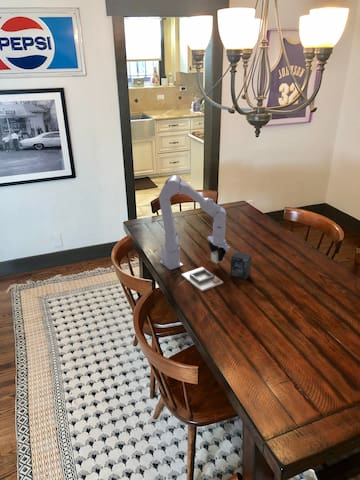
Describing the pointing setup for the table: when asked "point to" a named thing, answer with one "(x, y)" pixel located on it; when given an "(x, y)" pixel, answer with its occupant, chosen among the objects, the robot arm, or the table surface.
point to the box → (240, 265)
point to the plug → (215, 257)
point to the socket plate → (202, 279)
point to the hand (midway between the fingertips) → (217, 258)
